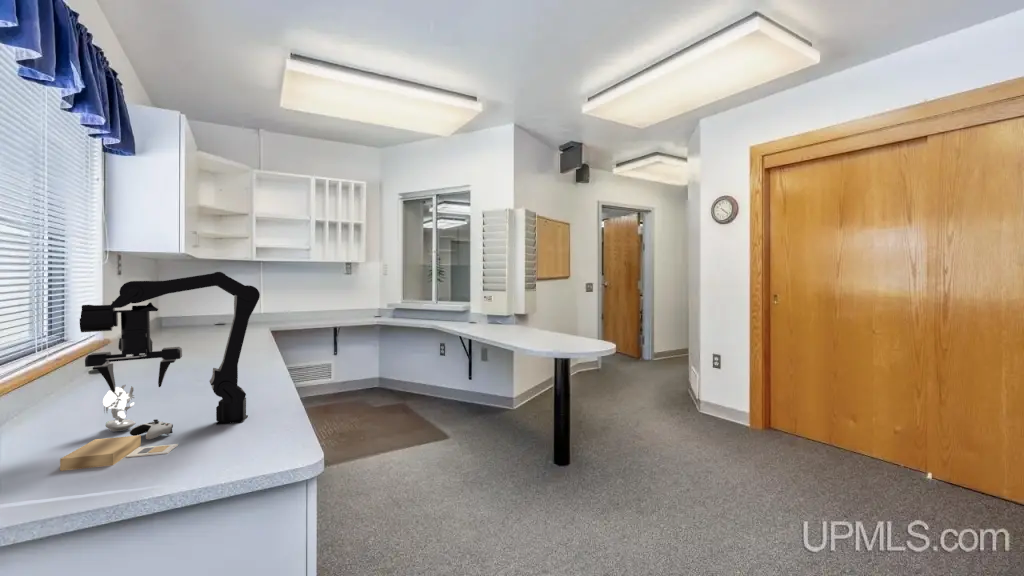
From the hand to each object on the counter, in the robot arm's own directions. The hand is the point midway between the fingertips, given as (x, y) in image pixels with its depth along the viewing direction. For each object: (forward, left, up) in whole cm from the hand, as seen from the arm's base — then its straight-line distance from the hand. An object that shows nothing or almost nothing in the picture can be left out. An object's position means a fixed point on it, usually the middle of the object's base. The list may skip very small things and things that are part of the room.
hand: (137, 389), depth 115 cm
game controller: (-3, +3, -13) cm, 13 cm away
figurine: (+7, -7, -13) cm, 16 cm away
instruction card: (-9, +14, -12) cm, 21 cm away
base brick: (0, +15, -13) cm, 20 cm away
